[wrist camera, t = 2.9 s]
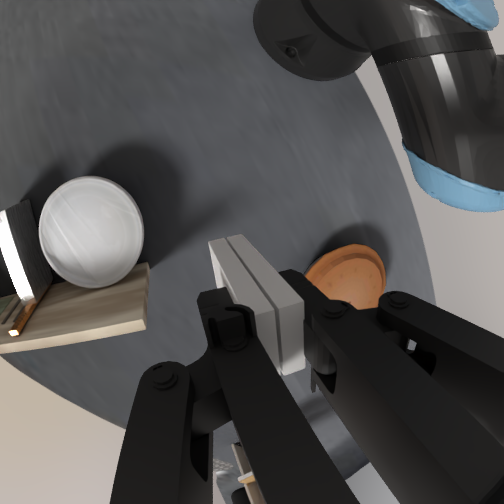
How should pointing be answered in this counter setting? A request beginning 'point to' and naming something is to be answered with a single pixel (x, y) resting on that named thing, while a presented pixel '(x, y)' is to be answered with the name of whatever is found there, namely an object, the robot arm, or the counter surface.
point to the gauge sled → (24, 258)
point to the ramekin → (91, 231)
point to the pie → (350, 275)
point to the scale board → (77, 313)
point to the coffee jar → (240, 496)
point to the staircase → (246, 472)
